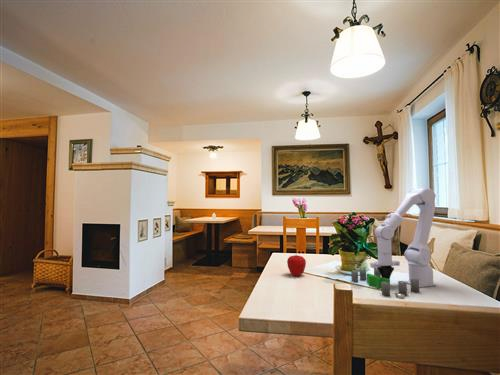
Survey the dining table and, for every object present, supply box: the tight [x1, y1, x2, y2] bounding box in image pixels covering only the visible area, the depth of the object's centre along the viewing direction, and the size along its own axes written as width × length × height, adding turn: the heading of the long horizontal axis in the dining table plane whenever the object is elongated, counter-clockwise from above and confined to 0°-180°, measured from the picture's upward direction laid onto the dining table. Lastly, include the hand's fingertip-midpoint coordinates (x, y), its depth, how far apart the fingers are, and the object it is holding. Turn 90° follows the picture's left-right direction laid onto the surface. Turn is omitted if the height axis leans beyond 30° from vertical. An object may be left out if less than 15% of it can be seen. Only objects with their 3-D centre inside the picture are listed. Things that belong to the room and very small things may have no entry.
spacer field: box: [350, 267, 421, 297], centre depth 119 cm, size 18×25×5 cm
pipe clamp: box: [366, 273, 391, 290], centre depth 119 cm, size 11×4×5 cm, turn 26°
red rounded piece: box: [286, 254, 307, 277], centre depth 139 cm, size 10×10×11 cm
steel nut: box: [394, 292, 406, 299], centre depth 105 cm, size 3×3×1 cm
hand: (385, 282), depth 120 cm, fingers closed
